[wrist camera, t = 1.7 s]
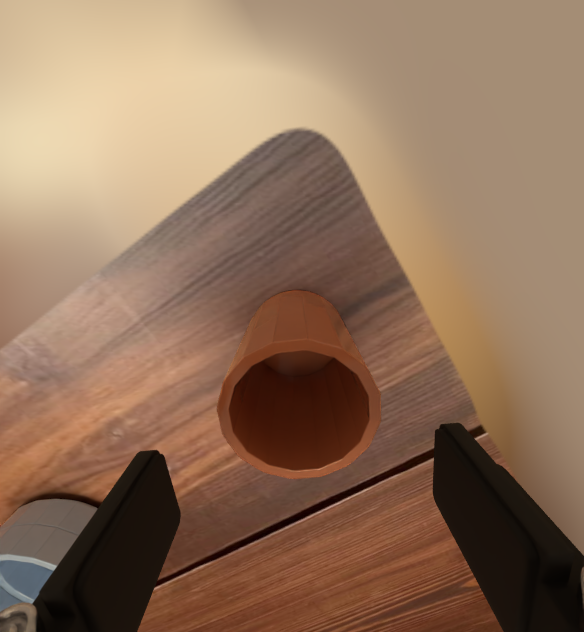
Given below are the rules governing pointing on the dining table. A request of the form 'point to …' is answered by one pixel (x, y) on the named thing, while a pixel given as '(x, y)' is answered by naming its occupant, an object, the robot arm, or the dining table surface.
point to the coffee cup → (298, 390)
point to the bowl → (37, 545)
